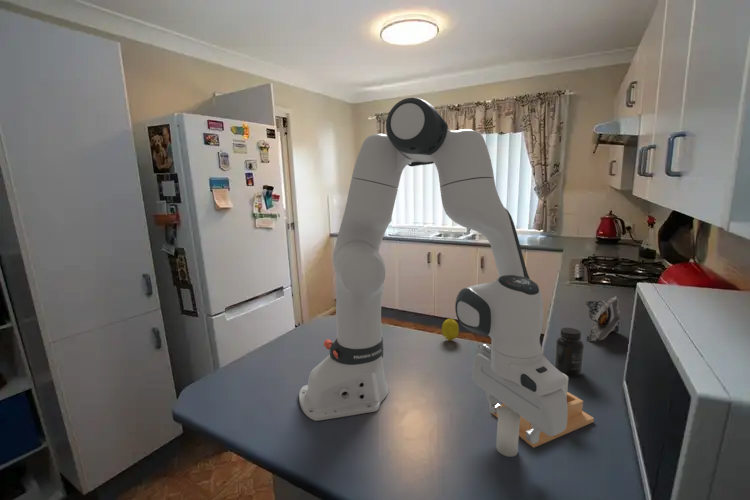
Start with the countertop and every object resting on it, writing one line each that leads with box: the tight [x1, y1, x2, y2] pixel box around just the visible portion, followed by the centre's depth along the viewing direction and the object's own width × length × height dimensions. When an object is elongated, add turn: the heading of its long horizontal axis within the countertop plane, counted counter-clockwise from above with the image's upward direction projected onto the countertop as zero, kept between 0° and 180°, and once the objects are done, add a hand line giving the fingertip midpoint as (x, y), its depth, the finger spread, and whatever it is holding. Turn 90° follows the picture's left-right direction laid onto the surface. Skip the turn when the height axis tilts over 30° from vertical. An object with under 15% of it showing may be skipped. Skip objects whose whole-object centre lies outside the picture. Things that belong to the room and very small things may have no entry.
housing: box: [490, 373, 595, 449], centre depth 77 cm, size 18×12×9 cm, turn 114°
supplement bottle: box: [553, 327, 585, 378], centre depth 96 cm, size 7×7×12 cm
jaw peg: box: [495, 407, 520, 458], centre depth 68 cm, size 4×4×8 cm
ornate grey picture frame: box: [585, 295, 621, 341], centre depth 118 cm, size 15×4×13 cm, turn 120°
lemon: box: [441, 317, 460, 342], centre depth 116 cm, size 6×6×8 cm
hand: (512, 425), depth 69 cm, fingers open, 8 cm apart
